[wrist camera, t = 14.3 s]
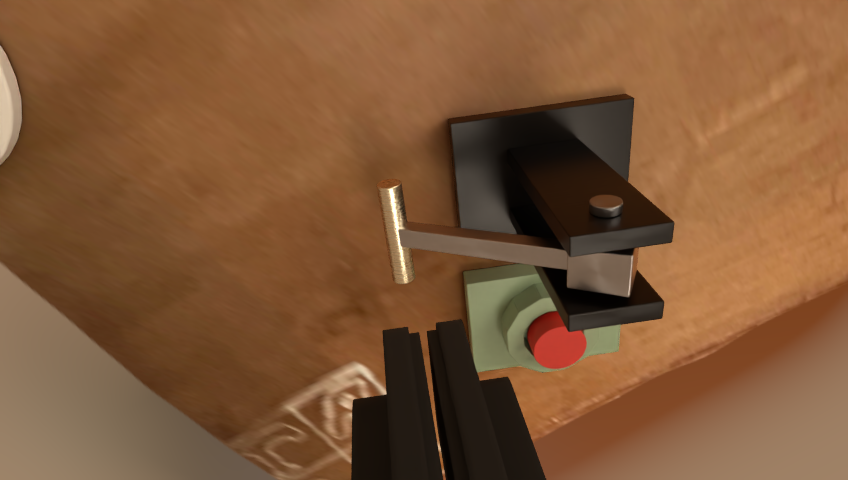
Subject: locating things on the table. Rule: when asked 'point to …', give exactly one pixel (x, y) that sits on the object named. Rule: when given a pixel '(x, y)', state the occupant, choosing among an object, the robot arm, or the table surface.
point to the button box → (515, 318)
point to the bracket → (561, 194)
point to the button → (555, 342)
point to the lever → (498, 249)
